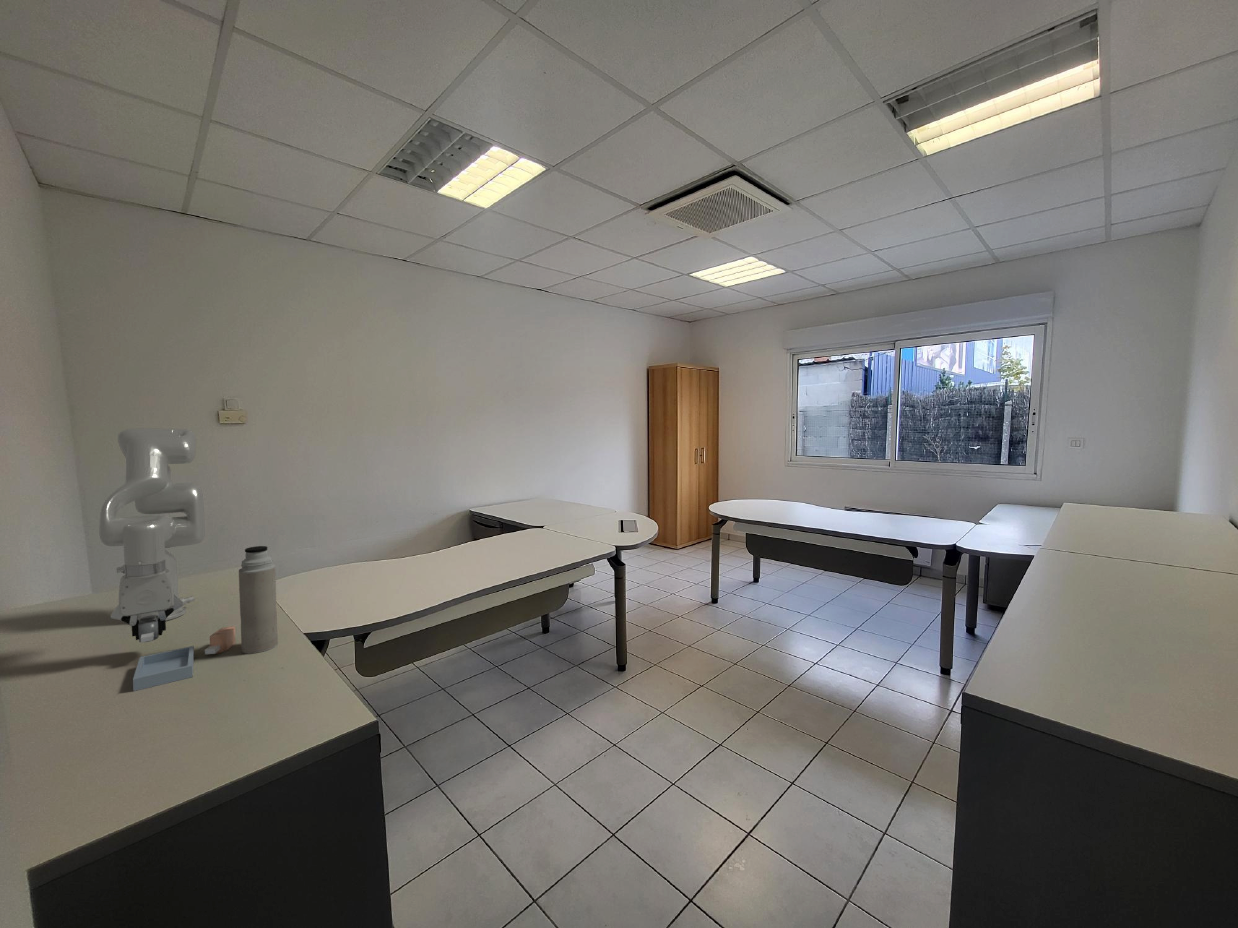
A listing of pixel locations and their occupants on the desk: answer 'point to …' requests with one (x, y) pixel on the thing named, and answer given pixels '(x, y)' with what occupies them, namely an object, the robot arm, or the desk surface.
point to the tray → (164, 668)
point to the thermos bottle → (258, 601)
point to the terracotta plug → (221, 640)
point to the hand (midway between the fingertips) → (149, 635)
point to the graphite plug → (148, 628)
